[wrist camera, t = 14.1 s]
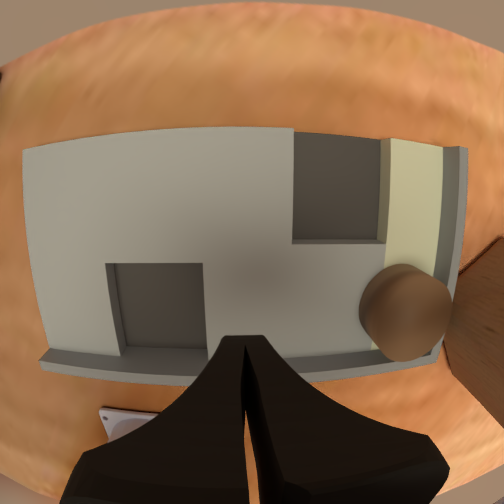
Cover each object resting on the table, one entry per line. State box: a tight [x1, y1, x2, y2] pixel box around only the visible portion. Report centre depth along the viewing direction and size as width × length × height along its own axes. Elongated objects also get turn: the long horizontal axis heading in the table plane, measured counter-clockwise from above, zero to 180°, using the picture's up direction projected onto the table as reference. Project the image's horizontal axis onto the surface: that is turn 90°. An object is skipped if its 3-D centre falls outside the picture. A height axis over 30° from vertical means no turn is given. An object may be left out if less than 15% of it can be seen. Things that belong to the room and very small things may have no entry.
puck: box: [359, 264, 452, 362], centre depth 17 cm, size 6×6×3 cm
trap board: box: [23, 127, 468, 386], centre depth 17 cm, size 15×28×3 cm, turn 90°
